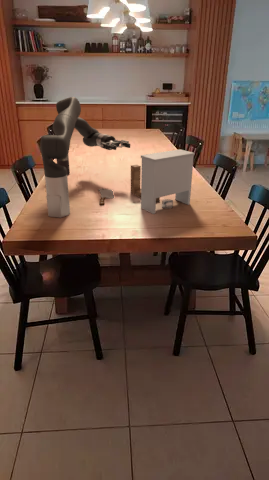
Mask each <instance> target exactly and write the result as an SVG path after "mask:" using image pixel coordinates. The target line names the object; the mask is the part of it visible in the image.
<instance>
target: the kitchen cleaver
mask: <svg viewBox="0 0 269 480" xmlns="http://www.w3.org/2000/svg"><path fill="white" fill-rule="evenodd" d="M112 190H113V189H111V188H110V189H109V188H98V190H97V191H98V192H99V193H100V199H99V206H105V205H106V204H105V200H108V199H109V200H110V198H111V200H112V199H113V198H114V195H113V191H114V190H113V191H112ZM113 200H114V199H113Z"/></svg>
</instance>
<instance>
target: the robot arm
mask: <svg viewBox="0 0 269 480" xmlns="http://www.w3.org/2000/svg"><path fill="white" fill-rule="evenodd" d="M55 109H56V112H57V115H56V117H55V118H54V120H53V124H52V131H53V133H54V135H53V134H51V135H45V134H44V135H42V136H41V138H40V152H41V159H42V163H43V164H42V166H43V172H44V181H45V189H46V190H45V191H46V196H45V198H46V205H47V214H48V215H47V216H48V217H51V218H60V219H61V218H63V217H67V216H69V215H70V213H71V209H70V207H71V206H70V195H69V194H70V193H69V180H68V179H69V178H68V175H67V169H66V168H65V167H64V166H61V165H59V164H57V162H55V161H54V159H55V160H57V159H64V158H66V157H67V156H69V154H70V153H69V152H70V146H71V140H72V136H73V133H74V130H76V131H77V132H78V133H79V134H80V136H81V137H82V142H83V144H84V145H85V146H87V147H90V148H91V147H100V148H102V149H104V150H107V151H112V150H114V151H116V150H117V148H127V149H129V148H131V143H130V142H129V141H128V140H126V139H121V140H120V139H119V140H118V139H116V138H115V136H113V135H110V134H106V133H101V132H99V130H97V129H96V128H94V127H92V125H90V124H89V123H88V121H87V120H85V119H83V118H82V117H80V115H81V112H82V106H81V103H80V101H79V99H78V98H76V96H69V97H67V98H64V99H61V100H58V101H57V102H56V104H55Z"/></svg>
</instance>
